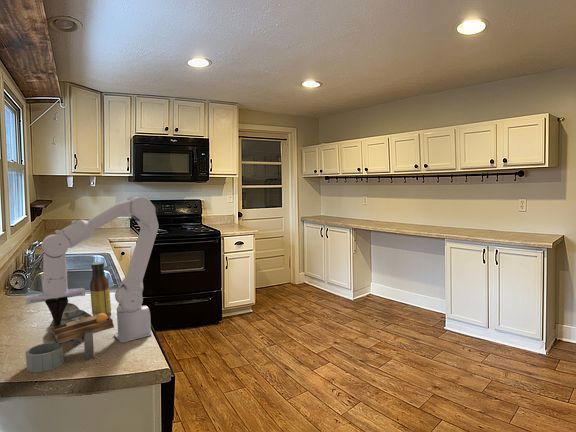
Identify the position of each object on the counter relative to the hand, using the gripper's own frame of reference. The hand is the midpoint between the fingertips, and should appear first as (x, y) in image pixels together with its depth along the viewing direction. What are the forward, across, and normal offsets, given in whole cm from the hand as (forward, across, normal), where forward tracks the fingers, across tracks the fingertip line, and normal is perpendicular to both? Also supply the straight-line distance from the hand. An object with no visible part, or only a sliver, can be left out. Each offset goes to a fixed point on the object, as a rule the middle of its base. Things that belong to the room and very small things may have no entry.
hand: (57, 324), depth 113 cm
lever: (+1, -6, +4) cm, 7 cm away
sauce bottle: (+8, -18, -24) cm, 31 cm away
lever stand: (+8, -6, +4) cm, 11 cm away
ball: (-1, -10, +6) cm, 12 cm away
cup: (+8, +4, +6) cm, 11 cm away
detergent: (+8, -7, -19) cm, 22 cm away
